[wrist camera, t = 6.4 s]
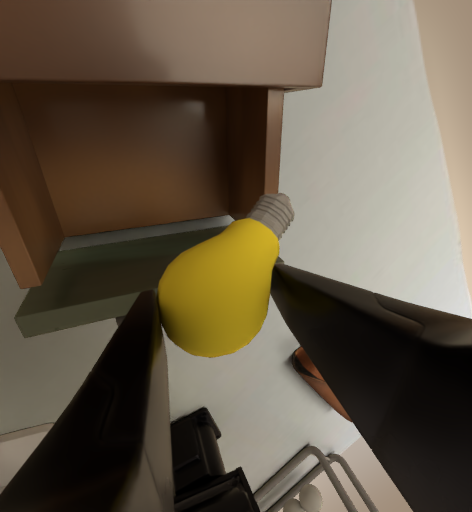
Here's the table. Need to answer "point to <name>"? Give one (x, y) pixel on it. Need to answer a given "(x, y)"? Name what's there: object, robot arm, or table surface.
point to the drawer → (122, 185)
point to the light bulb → (224, 282)
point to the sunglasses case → (316, 380)
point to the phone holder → (18, 450)
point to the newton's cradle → (309, 492)
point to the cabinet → (165, 42)
